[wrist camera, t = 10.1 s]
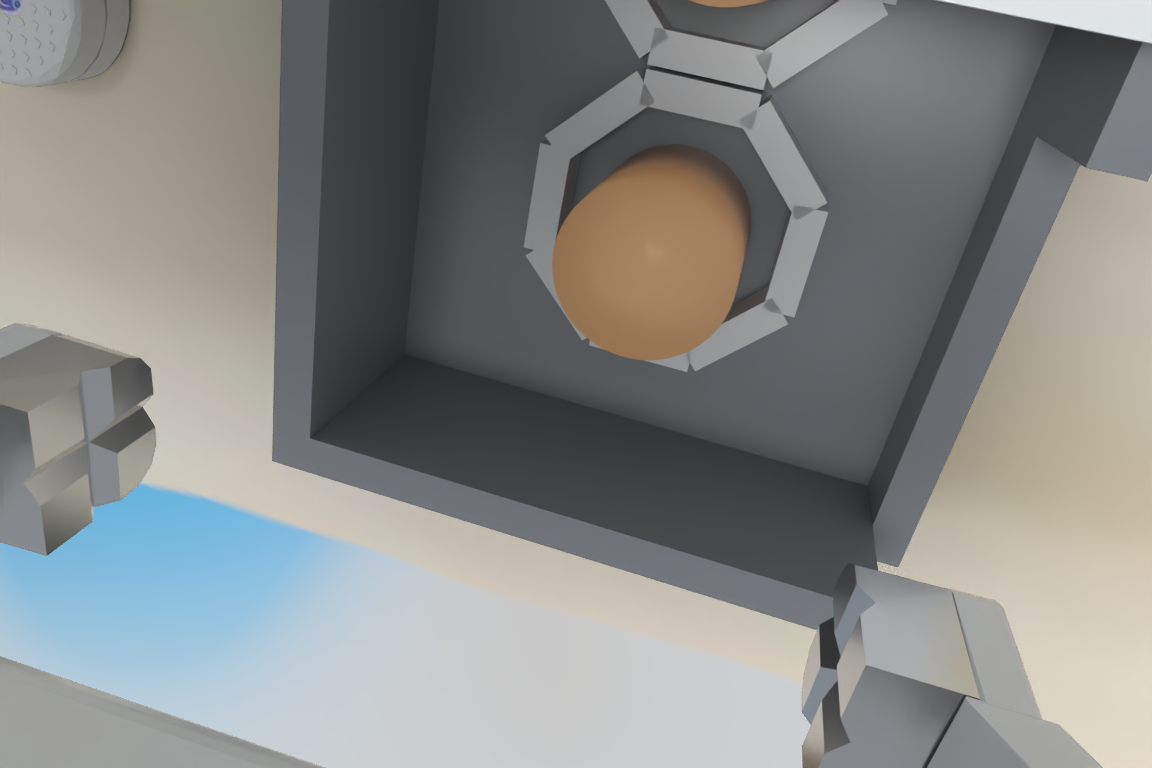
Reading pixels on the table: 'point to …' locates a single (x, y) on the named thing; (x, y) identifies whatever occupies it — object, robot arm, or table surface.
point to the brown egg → (654, 253)
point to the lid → (1078, 14)
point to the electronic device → (59, 39)
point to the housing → (765, 289)
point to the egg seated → (728, 2)
